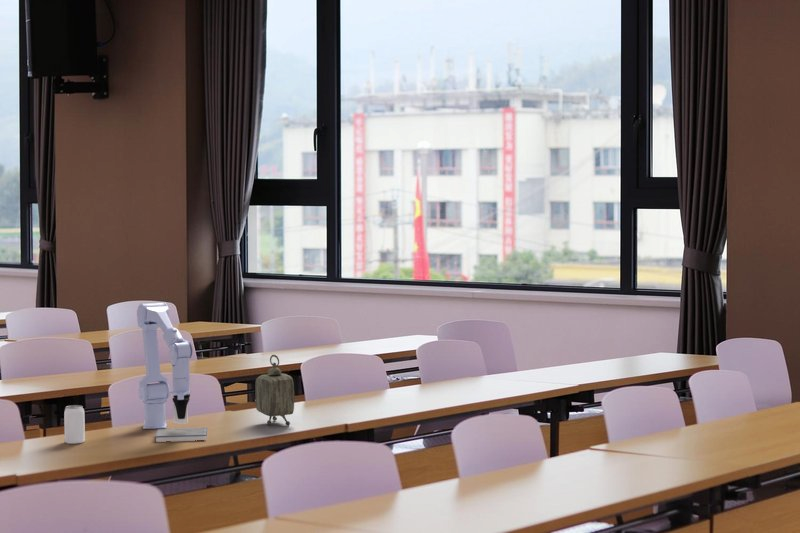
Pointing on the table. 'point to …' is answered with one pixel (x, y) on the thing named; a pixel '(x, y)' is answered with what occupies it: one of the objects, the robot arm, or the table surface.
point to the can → (74, 424)
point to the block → (180, 421)
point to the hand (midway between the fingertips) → (181, 417)
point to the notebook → (181, 434)
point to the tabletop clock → (275, 393)
